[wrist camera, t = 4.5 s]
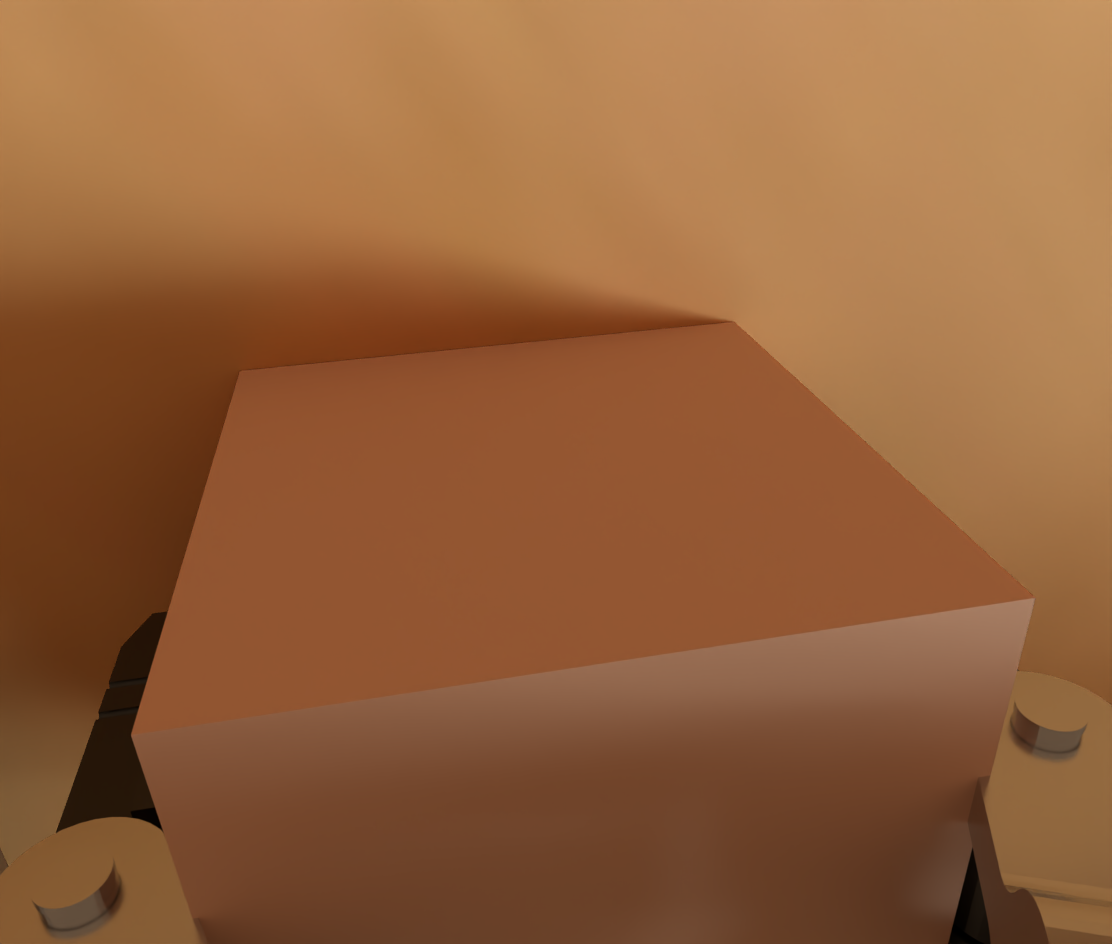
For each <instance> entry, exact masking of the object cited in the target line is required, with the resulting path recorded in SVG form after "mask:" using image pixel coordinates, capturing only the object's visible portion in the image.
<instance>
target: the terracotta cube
mask: <svg viewBox="0 0 1112 944" xmlns="http://www.w3.org/2000/svg"><path fill="white" fill-rule="evenodd" d="M1034 602H1035V597H1034V596H1033V595H1032V594H1031V593H1030V592H1029V591H1027V590H1026V589H1025V588H1024V587H1023V586H1022V585H1021V584H1020V583H1019V582H1018V581H1017V580H1015V579H1014V578H1013V577H1012V576H1011V575H1010V574H1009V573H1008V572H1007V571H1006V570H1005V569H1003V568H1002V567H1001V566H1000V565H999V564H998V563H997V562H996V561H995V560H994V559H993V558H991V557H990V556H989V555H988V554H987V553H986V552H985V551H984V550H983V549H982V548H981V547H979V546H978V545H977V544H976V543H975V542H974V541H973V540H972V539H971V538H970V537H969V536H967V535H966V534H965V533H964V532H963V531H962V530H961V529H960V528H959V527H958V526H957V525H955V524H954V523H953V522H952V521H951V520H950V519H949V518H948V517H947V516H946V515H945V514H943V513H942V512H941V511H940V510H939V509H938V508H937V507H936V506H935V505H934V504H933V503H931V502H930V501H929V500H928V499H927V498H926V497H925V496H924V495H923V494H922V493H921V492H919V491H918V490H917V489H916V488H915V487H914V486H913V485H912V484H911V483H910V482H909V481H907V480H906V479H905V478H904V477H903V476H902V475H901V474H900V473H899V472H898V471H897V470H895V469H894V468H893V467H892V466H891V465H890V464H889V463H888V462H887V461H886V460H885V459H883V458H882V457H881V456H880V455H879V454H878V453H877V452H876V451H875V450H874V449H873V448H871V447H870V446H869V445H868V444H867V443H866V442H865V441H864V440H863V439H862V438H861V437H859V436H858V435H857V434H856V433H855V432H854V431H853V430H852V429H851V428H850V427H849V426H847V425H846V424H845V423H844V422H843V421H842V420H841V419H840V418H839V417H838V416H837V415H835V414H834V413H833V412H832V411H831V410H830V409H829V408H828V407H827V406H826V405H825V404H823V403H822V402H821V401H820V400H819V399H818V398H817V397H816V396H815V395H814V394H813V393H811V392H810V391H809V390H808V389H807V388H806V387H805V386H804V385H803V384H802V383H801V382H799V381H798V380H797V379H796V378H795V377H794V376H793V375H792V374H791V373H790V372H789V371H787V370H786V369H785V368H784V367H783V366H782V365H781V364H780V363H779V362H778V361H777V360H775V359H774V358H773V357H772V356H771V355H770V354H769V353H768V352H767V351H766V350H765V349H763V348H762V347H761V346H760V345H759V344H758V343H757V342H756V341H755V340H754V339H753V338H751V337H750V336H749V335H748V334H747V333H746V332H745V331H744V330H743V329H742V328H741V327H739V326H738V325H737V324H736V323H735V322H726V323H716V324H706V325H696V326H686V327H676V328H665V329H655V330H645V331H635V332H625V333H615V334H605V335H595V336H585V337H575V338H565V339H555V340H545V341H535V342H525V343H514V344H504V345H494V346H484V347H474V348H464V349H454V350H444V351H434V352H424V353H414V354H404V355H394V356H384V357H374V358H364V359H353V360H343V361H333V362H323V363H313V364H303V365H293V366H283V367H273V368H263V369H253V370H243V371H240V372H239V376H238V379H237V382H236V386H235V389H234V392H233V396H232V399H231V402H230V406H229V409H228V412H227V416H226V419H225V422H224V426H223V429H222V432H221V436H220V439H219V442H218V446H217V449H216V452H215V456H214V459H213V462H212V466H211V469H210V473H209V476H208V479H207V483H206V486H205V489H204V493H203V496H202V499H201V503H200V506H199V509H198V513H197V516H196V519H195V523H194V526H193V529H192V533H191V536H190V539H189V543H188V546H187V549H186V553H185V556H184V559H183V563H182V566H181V569H180V573H179V576H178V579H177V583H176V586H175V589H174V593H173V596H172V599H171V603H170V606H169V609H168V613H167V616H166V620H165V623H164V626H163V630H162V633H161V636H160V640H159V643H158V646H157V650H156V653H155V656H154V660H153V663H152V666H151V670H150V673H149V676H148V680H147V683H146V686H145V690H144V693H143V696H142V700H141V703H140V706H139V710H138V713H137V716H136V720H135V723H134V726H133V730H132V733H131V737H132V740H133V743H134V746H135V749H136V752H137V755H138V758H139V761H140V764H141V767H142V770H143V773H144V776H145V779H146V782H147V785H148V788H149V791H150V794H151V797H152V799H153V802H154V805H155V808H156V811H157V814H158V817H159V820H160V823H161V826H162V829H163V832H164V835H165V838H166V841H167V844H168V847H169V850H170V853H171V856H172V859H173V862H174V865H175V868H176V871H177V874H178V877H179V880H180V883H181V886H182V889H183V892H184V895H185V898H186V901H187V904H188V907H189V910H190V913H191V916H192V919H194V918H199V920H200V923H201V925H202V928H203V931H204V934H205V936H206V939H207V942H208V944H948V942H949V938H950V934H951V930H952V926H953V922H954V918H955V914H956V910H957V906H958V902H959V899H960V895H961V891H962V887H963V883H964V879H965V875H966V871H967V867H968V863H969V859H970V855H971V851H972V847H973V846H972V841H971V837H970V832H969V827H968V822H967V821H968V817H969V813H970V809H971V805H972V801H973V797H974V793H975V789H976V785H977V781H978V777H984V776H989V775H991V772H992V768H993V764H994V760H995V756H996V752H997V748H998V744H999V740H1000V736H1001V732H1002V728H1003V724H1004V721H1005V717H1006V713H1007V709H1008V705H1009V701H1010V697H1011V693H1012V689H1013V685H1014V681H1015V677H1016V673H1017V669H1018V665H1019V661H1020V657H1021V653H1022V649H1023V645H1024V641H1025V637H1026V633H1027V630H1028V626H1029V622H1030V618H1031V614H1032V610H1033V606H1034Z"/></svg>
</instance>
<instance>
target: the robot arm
mask: <svg viewBox="0 0 1112 944" xmlns="http://www.w3.org/2000/svg"><path fill="white" fill-rule="evenodd" d="M167 613H168V612H161V613H154V614H152V615H151V616H150V617H149V618H148V619H147V620H146V621H145V622H144V623H143V624H142V625H141V627H140V628H139V629H138V630H137V631H136V632H135V633H134V634H133V635H132V636H131V637H130V638H129V639H128V640H127V641H126V642H125V644H124V645H123V646H122V647H121V650H120V652H119V655H118V658H117V661H116V664H115V667H114V669H113V672H112V675H111V678H110V681H109V685H110V688H109V689H106V692H105V695H104V698H103V701H102V704H101V706H100V709H99V719H98V720H96V721H95V723H94V726H93V729H92V732H91V735H90V738H89V740H88V743H87V746H86V749H85V752H84V755H83V757H82V760H81V763H80V766H79V769H78V772H77V775H76V777H75V780H74V783H73V786H72V789H71V792H70V794H69V797H68V800H67V803H66V806H65V809H64V811H63V814H62V817H61V820H60V823H59V826H58V828H57V831H56V833H55V834H53V835H51V836H49V837H47V838H45V839H44V840H42V841H41V842H39V843H37V844H36V845H34V846H33V847H31V848H30V849H29V850H27V851H26V852H25V853H23V854H22V855H21V856H19V857H18V858H17V859H16V860H15V861H14V862H13V863H12V864H11V865H9V866H8V867H7V868H6V869H5V870H4V871H3V873H2V874H1V875H0V944H208V942H207V939H206V936H205V934H204V931H203V928H202V925H201V923H200V920H199V918H194V919H192V916H191V913H190V910H189V907H188V904H187V901H186V898H185V895H184V892H183V889H182V886H181V883H180V880H179V877H178V874H177V871H176V868H175V865H174V862H173V859H172V856H171V853H170V850H169V847H168V844H167V841H166V838H165V835H164V832H163V829H162V826H161V823H160V820H159V817H158V814H157V811H156V808H155V805H154V802H153V799H152V797H151V794H150V791H149V788H148V785H147V782H146V779H145V776H144V773H143V770H142V767H141V764H140V761H139V758H138V755H137V752H136V749H135V746H134V743H133V740H132V737H131V733H132V730H133V726H134V723H135V720H136V716H137V713H138V710H139V706H140V703H141V700H142V696H143V693H144V690H145V686H146V683H147V680H148V676H149V673H150V670H151V666H152V663H153V660H154V656H155V653H156V650H157V646H158V643H159V640H160V636H161V633H162V630H163V626H164V623H165V620H166V616H167ZM967 822H968V827H969V832H970V837H971V841H972V846H973V847H972V851H971V855H970V859H969V863H968V867H967V871H966V875H965V879H964V883H963V887H962V891H961V895H960V899H959V902H958V906H957V910H956V914H955V918H954V922H953V926H952V930H951V934H950V938H949V942H948V944H1112V705H1111V704H1109V703H1108V702H1107V701H1105V700H1104V699H1102V698H1101V697H1100V696H1098V695H1096V694H1095V693H1093V692H1091V691H1089V690H1088V689H1086V688H1084V687H1081V686H1079V685H1077V684H1075V683H1073V682H1070V681H1067V680H1064V679H1061V678H1059V677H1055V676H1051V675H1047V674H1042V673H1036V672H1029V671H1018V669H1017V673H1016V677H1015V681H1014V685H1013V689H1012V693H1011V697H1010V701H1009V705H1008V709H1007V713H1006V717H1005V721H1004V724H1003V728H1002V732H1001V736H1000V740H999V744H998V748H997V752H996V756H995V760H994V764H993V768H992V772H991V775H989V776H984V777H978V781H977V785H976V789H975V793H974V797H973V801H972V805H971V809H970V813H969V817H968V821H967Z"/></svg>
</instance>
